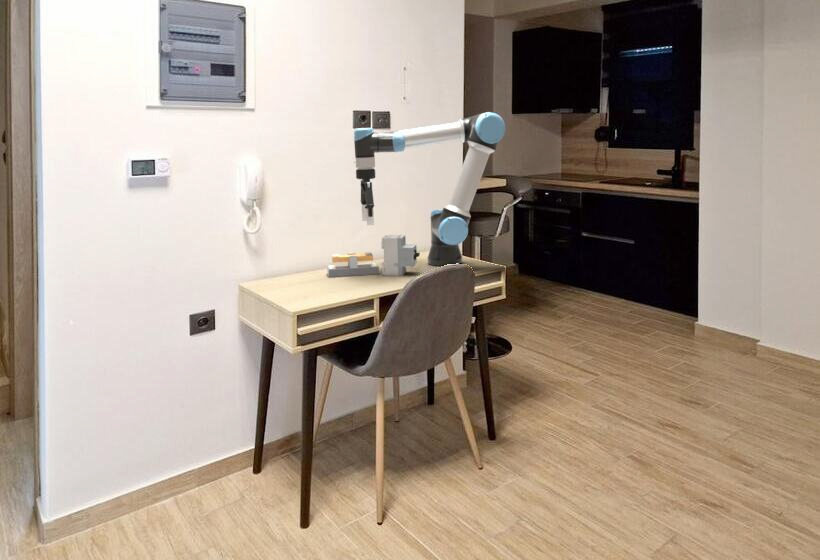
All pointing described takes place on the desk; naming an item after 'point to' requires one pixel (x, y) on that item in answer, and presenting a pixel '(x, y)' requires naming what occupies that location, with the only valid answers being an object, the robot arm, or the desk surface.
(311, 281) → the desk surface
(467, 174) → the robot arm
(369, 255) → the lever
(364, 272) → the grey block
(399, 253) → the circuit breaker
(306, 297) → the desk surface
